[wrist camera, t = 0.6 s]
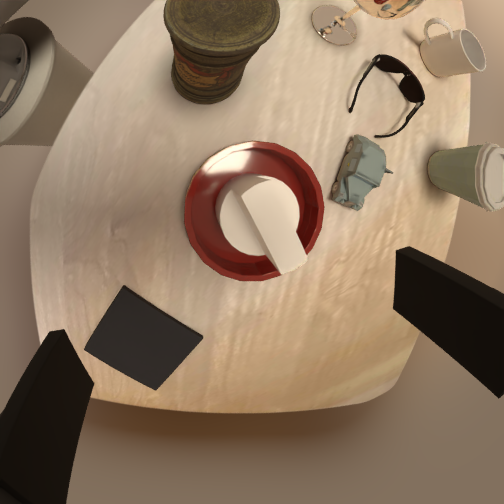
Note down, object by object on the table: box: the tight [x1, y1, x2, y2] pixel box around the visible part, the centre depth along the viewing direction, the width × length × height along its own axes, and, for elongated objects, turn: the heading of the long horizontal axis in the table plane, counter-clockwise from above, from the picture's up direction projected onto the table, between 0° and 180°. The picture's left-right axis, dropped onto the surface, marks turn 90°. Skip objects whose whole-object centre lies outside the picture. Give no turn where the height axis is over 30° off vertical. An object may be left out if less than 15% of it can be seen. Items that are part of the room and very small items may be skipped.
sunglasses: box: [349, 54, 425, 138], centre depth 35 cm, size 10×12×5 cm
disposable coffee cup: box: [428, 142, 504, 211], centre depth 35 cm, size 11×11×15 cm
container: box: [164, 0, 280, 104], centre depth 23 cm, size 9×9×18 cm
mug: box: [420, 18, 486, 77], centre depth 30 cm, size 12×8×10 cm, turn 68°
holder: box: [84, 286, 203, 390], centre depth 40 cm, size 14×14×1 cm
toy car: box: [332, 135, 393, 211], centre depth 37 cm, size 6×10×5 cm, turn 160°
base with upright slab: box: [215, 173, 308, 275], centre depth 32 cm, size 9×9×12 cm
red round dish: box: [184, 141, 324, 281], centre depth 35 cm, size 17×17×5 cm
